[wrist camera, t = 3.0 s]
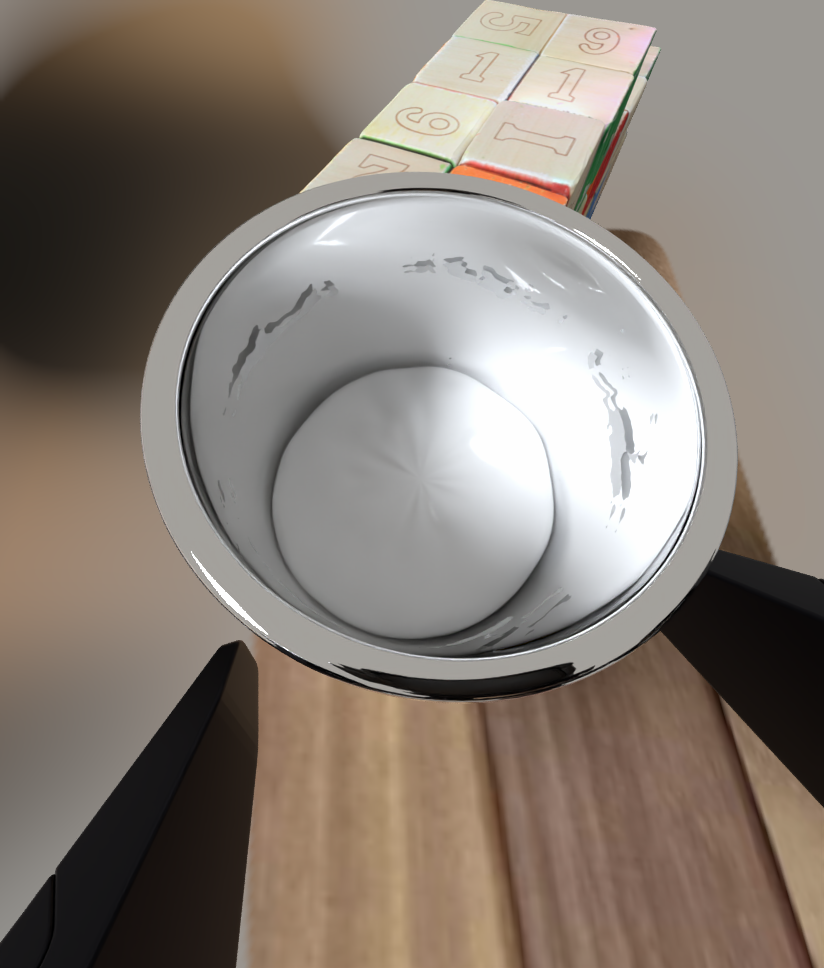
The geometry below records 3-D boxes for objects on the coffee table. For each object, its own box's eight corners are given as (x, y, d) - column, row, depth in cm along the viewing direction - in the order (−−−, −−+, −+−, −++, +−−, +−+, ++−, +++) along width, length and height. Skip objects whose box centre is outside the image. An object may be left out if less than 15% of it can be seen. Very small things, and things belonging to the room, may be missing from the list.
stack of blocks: (502, 217, 26) (567, -90, 15) (582, 241, 25) (718, -71, 14) (363, 436, 20) (284, 189, 8) (461, 481, 19) (529, 269, 7)
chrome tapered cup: (490, 553, 18) (866, 410, 4) (391, 648, 16) (436, 995, 2) (406, 460, 20) (463, 100, 5) (305, 539, 18) (-17, 316, 4)
